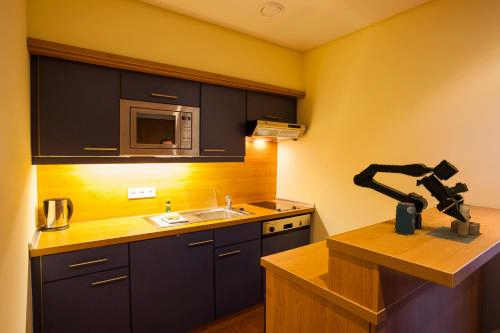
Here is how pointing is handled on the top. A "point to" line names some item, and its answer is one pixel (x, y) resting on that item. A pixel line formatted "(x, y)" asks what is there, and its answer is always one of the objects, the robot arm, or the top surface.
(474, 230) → the hole block
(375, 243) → the top surface
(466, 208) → the peg
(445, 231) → the mat
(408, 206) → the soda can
